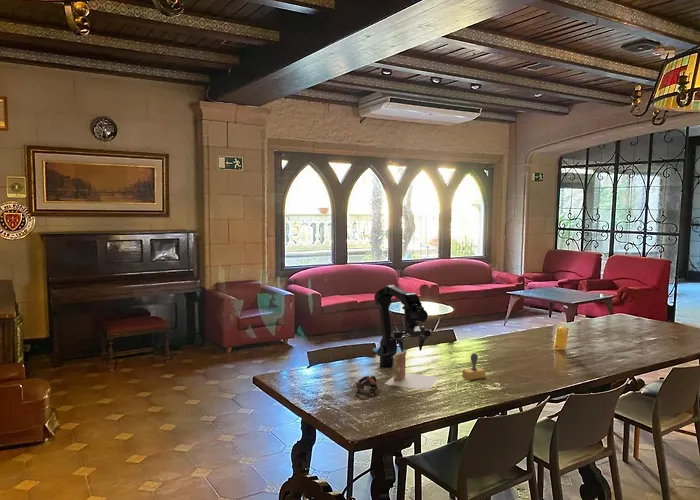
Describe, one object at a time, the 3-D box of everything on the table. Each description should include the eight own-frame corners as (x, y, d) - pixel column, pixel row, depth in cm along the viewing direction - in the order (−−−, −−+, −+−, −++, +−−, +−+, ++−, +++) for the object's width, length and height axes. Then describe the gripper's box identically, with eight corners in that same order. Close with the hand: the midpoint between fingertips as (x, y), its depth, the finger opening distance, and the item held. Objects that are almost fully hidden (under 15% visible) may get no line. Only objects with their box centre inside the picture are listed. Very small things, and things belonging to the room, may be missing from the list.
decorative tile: (384, 358, 293) (384, 354, 292) (372, 352, 305) (372, 348, 305) (406, 355, 299) (406, 351, 299) (394, 349, 311) (394, 345, 311)
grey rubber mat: (384, 384, 247) (384, 383, 247) (398, 372, 265) (398, 371, 265) (427, 391, 238) (427, 390, 238) (439, 378, 256) (439, 377, 256)
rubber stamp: (468, 380, 254) (469, 355, 253) (461, 376, 259) (462, 352, 258) (485, 377, 258) (486, 353, 257) (478, 374, 263) (479, 350, 262)
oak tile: (393, 380, 251) (393, 355, 250) (399, 375, 258) (399, 350, 257) (400, 381, 250) (400, 355, 249) (405, 376, 257) (405, 351, 256)
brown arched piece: (376, 398, 231) (366, 382, 230) (359, 403, 236) (350, 388, 235) (385, 383, 241) (376, 368, 240) (369, 389, 246) (360, 374, 245)
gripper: (397, 323, 243) (398, 356, 244) (435, 320, 248) (435, 353, 248) (390, 319, 254) (390, 351, 255) (426, 317, 259) (427, 348, 259)
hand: (411, 351), depth 254 cm, fingers open, 9 cm apart
